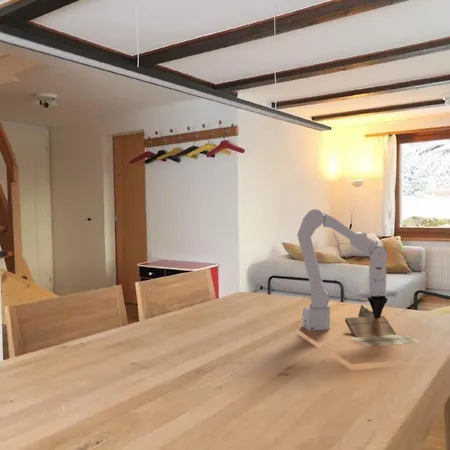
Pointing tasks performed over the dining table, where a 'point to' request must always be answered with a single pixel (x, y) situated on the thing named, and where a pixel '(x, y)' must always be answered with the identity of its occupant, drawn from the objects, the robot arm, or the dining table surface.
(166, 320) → the dining table surface
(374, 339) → the beige grooved panel
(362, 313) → the rock
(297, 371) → the dining table surface
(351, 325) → the plank
